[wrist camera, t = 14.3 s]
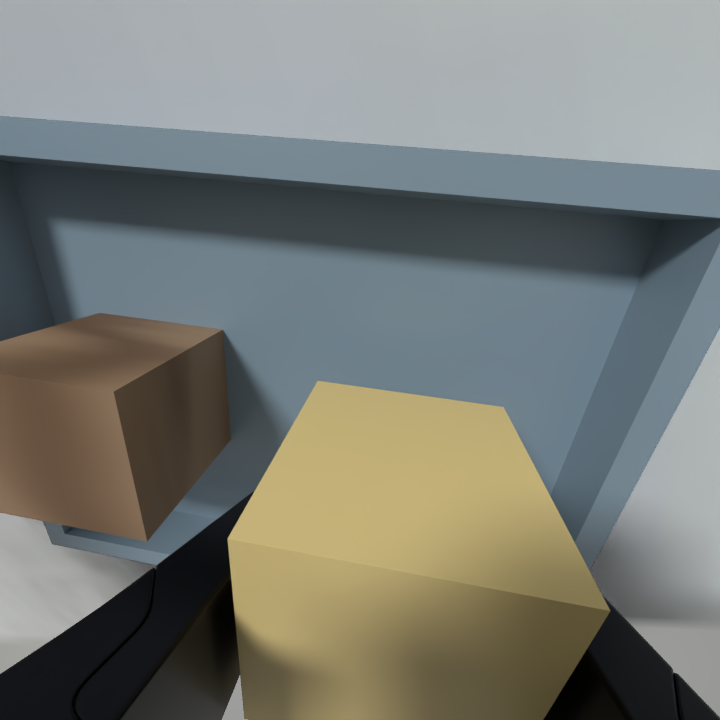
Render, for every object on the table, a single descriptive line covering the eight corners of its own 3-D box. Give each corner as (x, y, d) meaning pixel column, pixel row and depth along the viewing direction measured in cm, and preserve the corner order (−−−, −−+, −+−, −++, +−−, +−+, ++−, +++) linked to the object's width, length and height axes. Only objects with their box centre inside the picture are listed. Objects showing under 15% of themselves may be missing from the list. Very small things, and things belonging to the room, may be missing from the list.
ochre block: (311, 513, 10) (244, 718, 6) (317, 380, 8) (227, 539, 4) (463, 541, 10) (506, 780, 5) (503, 406, 8) (610, 610, 4)
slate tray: (102, 498, 16) (51, 544, 14) (-1, 133, 10) (-119, 107, 8) (527, 577, 14) (550, 644, 12) (694, 189, 8) (800, 176, 6)
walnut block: (123, 422, 13) (-5, 511, 9) (99, 312, 12) (-73, 362, 7) (230, 439, 13) (146, 541, 9) (222, 329, 11) (113, 391, 7)
